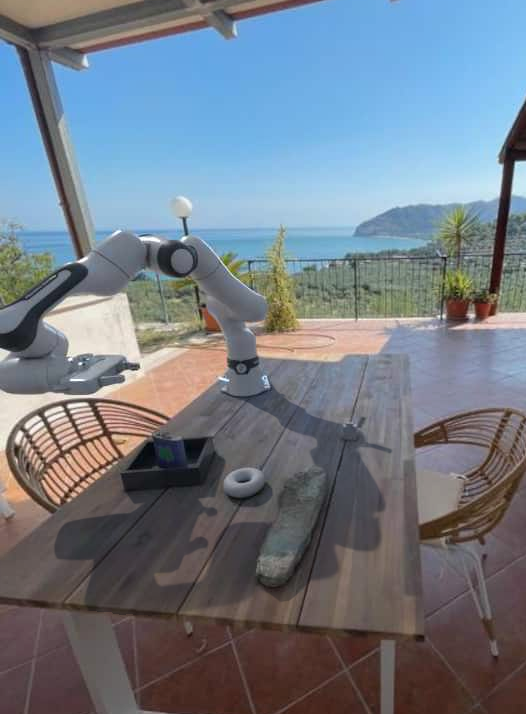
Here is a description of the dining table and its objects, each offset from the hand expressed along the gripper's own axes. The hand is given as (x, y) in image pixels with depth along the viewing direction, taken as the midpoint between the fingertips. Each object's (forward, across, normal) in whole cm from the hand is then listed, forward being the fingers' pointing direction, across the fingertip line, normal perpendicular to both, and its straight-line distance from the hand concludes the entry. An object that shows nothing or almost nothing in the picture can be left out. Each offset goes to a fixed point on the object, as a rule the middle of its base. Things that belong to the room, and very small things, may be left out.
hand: (131, 372), depth 97 cm
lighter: (+57, +5, +26) cm, 63 cm away
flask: (+7, -5, +25) cm, 27 cm away
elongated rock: (+40, -30, +26) cm, 56 cm away
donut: (+27, -16, +26) cm, 41 cm away
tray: (+7, -5, +26) cm, 27 cm away
